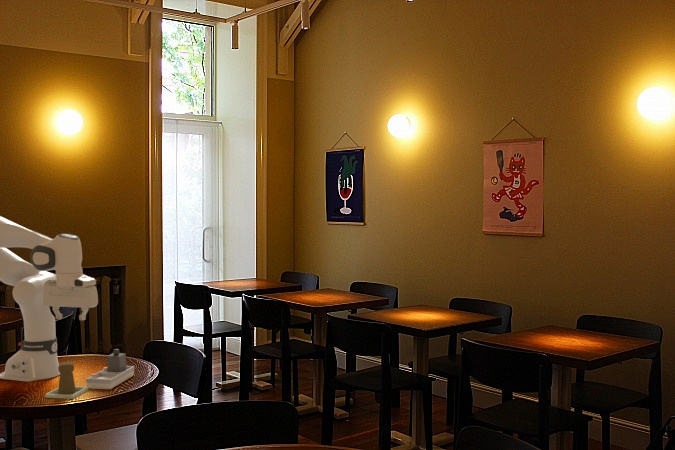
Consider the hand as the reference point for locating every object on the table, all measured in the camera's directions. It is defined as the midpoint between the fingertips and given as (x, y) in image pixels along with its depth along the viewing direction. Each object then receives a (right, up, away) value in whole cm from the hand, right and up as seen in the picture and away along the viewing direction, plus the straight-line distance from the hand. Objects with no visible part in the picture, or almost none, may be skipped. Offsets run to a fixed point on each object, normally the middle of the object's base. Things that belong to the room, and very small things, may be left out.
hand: (70, 319), depth 253 cm
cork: (-1, -26, -1) cm, 26 cm away
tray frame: (-1, -26, -1) cm, 26 cm away
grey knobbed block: (+10, -23, +19) cm, 32 cm away
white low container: (+10, -25, +15) cm, 31 cm away
